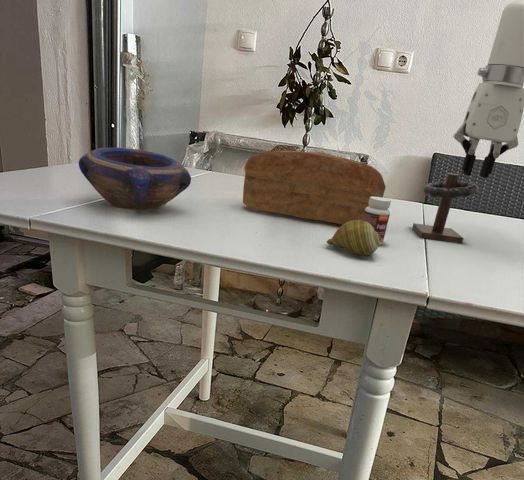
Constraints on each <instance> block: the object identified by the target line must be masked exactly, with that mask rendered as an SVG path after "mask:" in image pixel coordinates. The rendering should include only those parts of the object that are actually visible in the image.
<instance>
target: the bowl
mask: <svg viewBox="0 0 524 480" xmlns="http://www.w3.org/2000/svg"><path fill="white" fill-rule="evenodd" d="M78 168H79V170H80V173H81V174H82V175H83V177H84V178H85V179H86V180H87V181H88V182H89V184H90V185H91V186H92V187H93V189H94V190H95V191H96V192H97V193H98V194H99V195H100V196H101V197H102V198H103V199H104V200H105V201H106V202H107V203H108V204H109V205H110V206H111V207H113V208H115V209H119V210H125V211H151V210H158V209H160V208H161V207H163V206H164V205H165V206H166V205H167V204H168V203H170V201H172V200H174V199H175V198H176V197H177V196H179V195H180V194H181V193H182V192H184V191H185V190H187V189H188V188H189V186H190V185H191V182H192V176H191V174H190V172H189V171H188V169H187V168H186V167H185V166H184V165H183V164H181V162H179V161H177V160H175V159H174V158H172V157H169V156H167V155H165V154H162V153H157V152H152V151H147V150H143V149H139V148H128V147H99V148H96V149H93V150H90V151H88V152H87V153H85V154H84V155H82V156H81V157H79V159H78Z"/></svg>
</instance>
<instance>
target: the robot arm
mask: <svg viewBox="0 0 524 480" xmlns="http://www.w3.org/2000/svg"><path fill="white" fill-rule="evenodd" d="M477 76H478V77H481V78H482V79H481V80H482V82H479V83H478V85H477V87H476V89H475V91H474V93H473V95H472V98H471V100H470V102H469V105H468V107H467V110H466V113H465V116H464V119H463V122H462V124H461V126H460V127H459V128H458V129H457V130H456V132H455V133H454V134H453V136H452V138H453V139H454V140H455V141H457V142H458V143H459V144H460V145H461V147H462V149H463V150H464V153H465V157H464V159H463V163H462V168H461V170H462V174H463V175H465V176H471V175H472V172H473V169H474V165H475V162H476V158H477V156H476V150H477V148H478V145H479V142H480V140H483V141H489V142H490V145H489V151H488V154H487V155H486V156H485V157H484V160H483V162H482V165H481V169H480V173H479V176H480V178H484V179H488V178H489V176H490V175H491V173H492V172H493V169H494V166H495V162H496V159H498V158H499V157H500V156H501V155H503V154H504V153H506V152H507V151H509V150H512V149H515V148H518V146H519V140H518V133H519V130H520V127H521V122H522V118H523V114H524V0H514V1H512V2H511V1H510V2H509V3H508V4H506V5H505V7H504V8H503V10H502V13H501V16H500V20H499V23H498V26H497V29H496V33H495V37H494V41H493V44H492V48H491V51H490V54H489V58H488V62H487V65H485V67H479V69H478V70H477ZM466 137H467V138H468V139H467V138H466ZM503 143H504V144H503Z"/></svg>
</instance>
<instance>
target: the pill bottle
mask: <svg viewBox="0 0 524 480" xmlns="http://www.w3.org/2000/svg"><path fill="white" fill-rule="evenodd" d="M391 201H392V200H391V199H388V198H385V197H382V198H381V197H370V199H369V206H368V207H366V209H365V213H364V217H363V221H366V222H368V223H369V224H371V225H372V227H373V228H374V231H376V232H377V233H378V235H380V236H381V238H382V239H381V241H380V243H379V246H381V245H384V239H385V236H386V232H387V228H388V223H389V219H390V216H391V213H390V212H391V211H390V210H389V209H390V208H391Z"/></svg>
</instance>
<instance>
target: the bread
mask: <svg viewBox="0 0 524 480" xmlns="http://www.w3.org/2000/svg"><path fill="white" fill-rule="evenodd" d="M244 173H245V174H244V180H243V189H242V190H243V191H242V203H243V205H244V206H245V207H247V208H248V209H251V210H255V211H257V212H259V211H260V212H267V213H272V214H273V213H274V214H279V215H280V214H281V215H288V216H293V217H296V218H301V219H307V220H314V221H322V222H328V223H334V224H338V225H341V226H342V225H343V224H345V223H346V222H349V221H352V220H362V221H363V217H364V213H365V209H366V207H368V206H369V199H370V197H381V198H384V194H385V191H386V188H387V187H386V183H385V181H384V178H383V175H382V173H380V171H379V170H378V169H376V168H374V167H373V166H372V165H369V164H367V163H364V162H362V161H361V162H360V161H357V160H354V159H350V158H346V157H343V156H338V155H334V154H330V153H327V152H326V153H325V152H320V151H302V150H281V149H280V150H279V149H276V150H265V151H261V152H258V153H255V154H253V155H251V156H250V157H249V158H247V160H246V162H245V166H244Z"/></svg>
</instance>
